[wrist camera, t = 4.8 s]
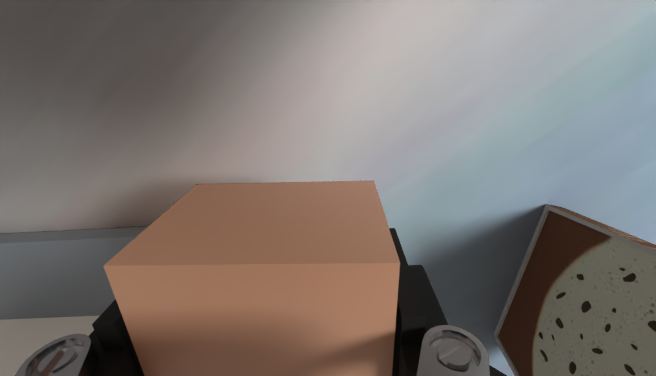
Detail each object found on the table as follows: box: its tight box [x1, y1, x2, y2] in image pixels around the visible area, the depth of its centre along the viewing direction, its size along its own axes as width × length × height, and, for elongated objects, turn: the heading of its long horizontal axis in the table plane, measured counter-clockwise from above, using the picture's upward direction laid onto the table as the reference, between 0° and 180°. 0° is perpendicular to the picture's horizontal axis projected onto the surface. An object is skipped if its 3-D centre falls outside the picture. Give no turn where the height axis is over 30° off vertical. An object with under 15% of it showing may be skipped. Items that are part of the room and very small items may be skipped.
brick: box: [103, 181, 400, 376], centre depth 9 cm, size 6×6×4 cm
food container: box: [493, 204, 656, 376], centre depth 14 cm, size 12×6×10 cm, turn 173°
